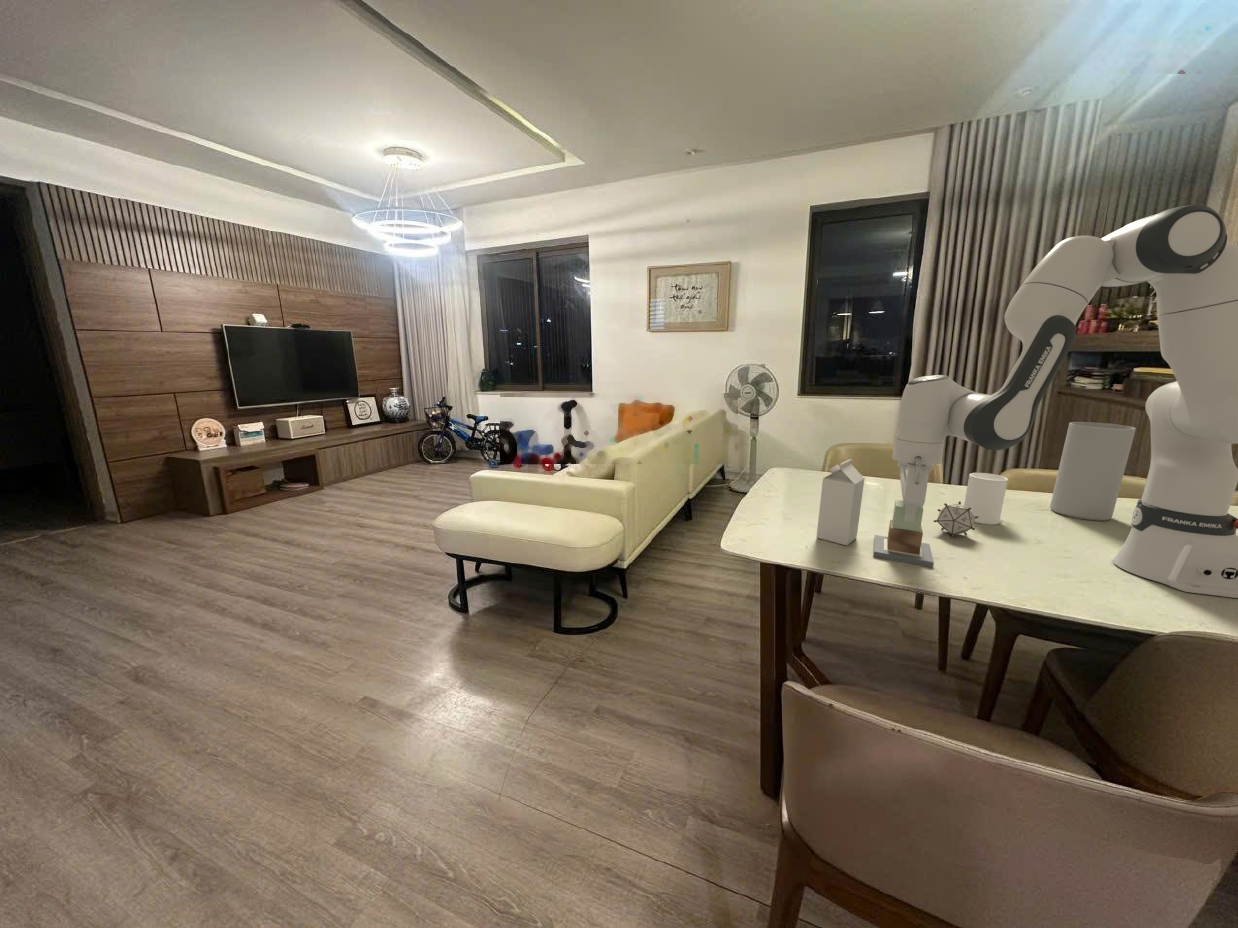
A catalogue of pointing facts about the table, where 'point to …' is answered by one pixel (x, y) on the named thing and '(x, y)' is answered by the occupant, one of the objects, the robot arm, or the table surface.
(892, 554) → the board
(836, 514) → the milk carton
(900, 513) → the sage cube
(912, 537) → the walnut block
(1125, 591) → the table surface
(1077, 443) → the cylinder vase
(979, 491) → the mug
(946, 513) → the game die
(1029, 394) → the robot arm
